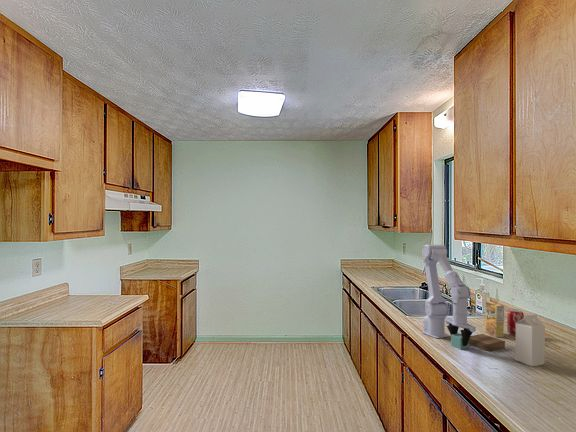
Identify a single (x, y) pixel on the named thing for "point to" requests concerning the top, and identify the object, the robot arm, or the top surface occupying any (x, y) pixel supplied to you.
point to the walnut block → (486, 342)
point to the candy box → (494, 319)
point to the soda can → (513, 320)
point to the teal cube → (457, 341)
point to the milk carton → (530, 341)
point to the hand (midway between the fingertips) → (459, 343)
